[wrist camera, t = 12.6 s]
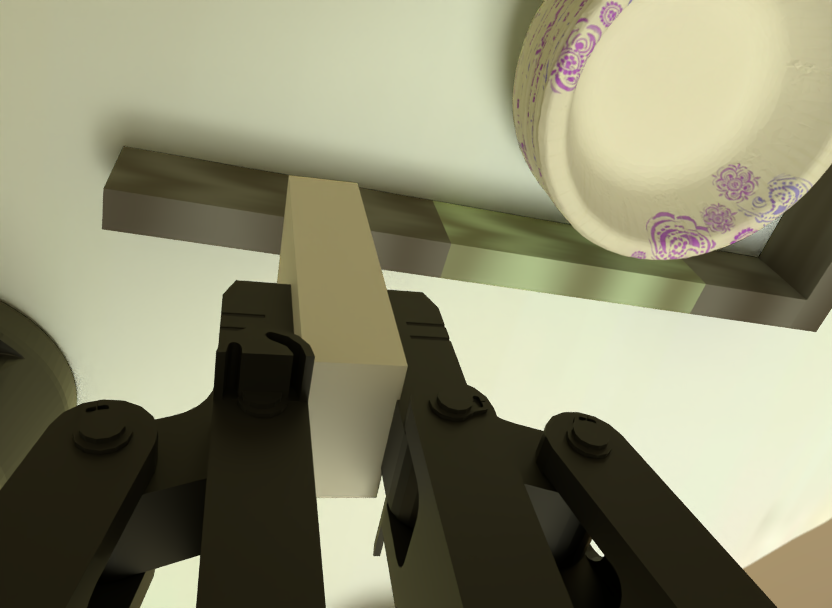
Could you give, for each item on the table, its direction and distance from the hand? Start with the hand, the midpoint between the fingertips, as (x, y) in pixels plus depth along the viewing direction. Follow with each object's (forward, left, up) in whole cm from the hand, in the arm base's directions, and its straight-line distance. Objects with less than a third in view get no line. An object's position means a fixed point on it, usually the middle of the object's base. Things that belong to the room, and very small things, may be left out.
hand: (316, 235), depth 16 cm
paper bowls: (+17, -2, -21) cm, 27 cm away
